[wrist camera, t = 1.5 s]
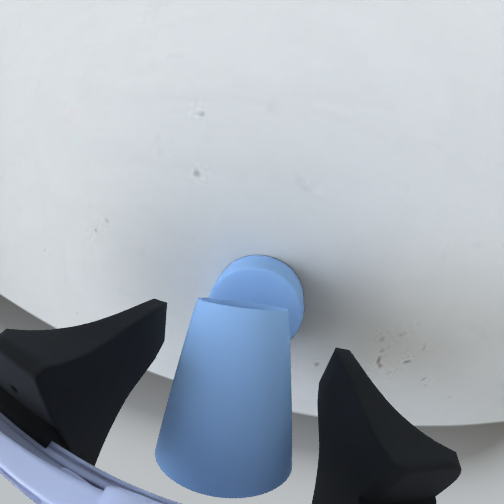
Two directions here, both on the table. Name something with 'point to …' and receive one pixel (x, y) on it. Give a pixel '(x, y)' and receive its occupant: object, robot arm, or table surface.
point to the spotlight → (235, 385)
